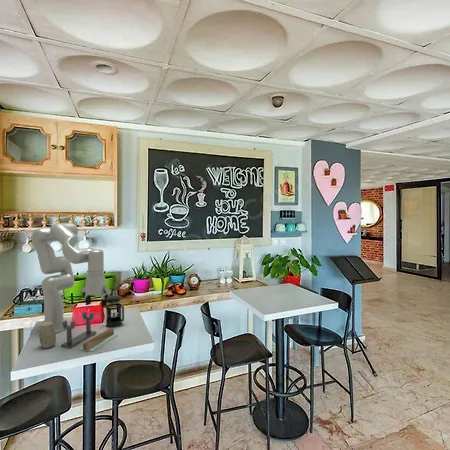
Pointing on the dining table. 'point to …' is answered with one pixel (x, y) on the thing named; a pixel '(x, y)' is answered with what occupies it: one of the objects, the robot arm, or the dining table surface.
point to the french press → (115, 317)
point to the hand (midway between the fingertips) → (96, 305)
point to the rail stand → (81, 337)
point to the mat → (100, 343)
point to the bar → (98, 339)
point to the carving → (47, 334)
